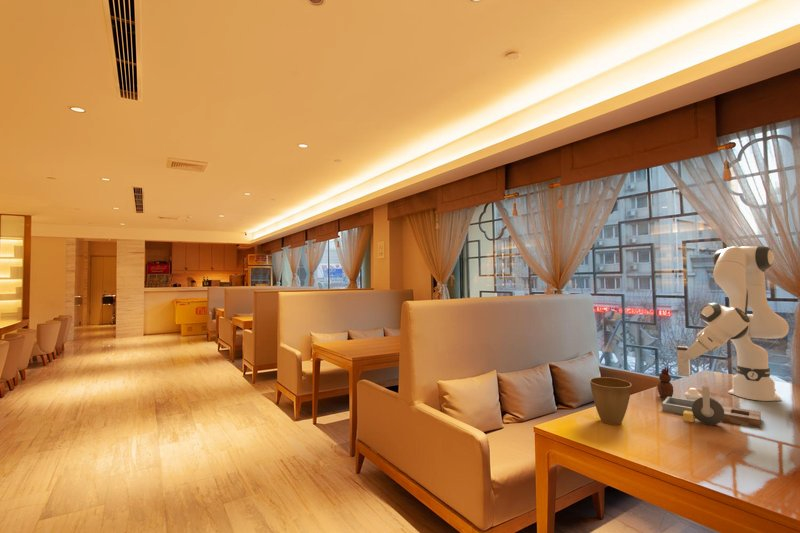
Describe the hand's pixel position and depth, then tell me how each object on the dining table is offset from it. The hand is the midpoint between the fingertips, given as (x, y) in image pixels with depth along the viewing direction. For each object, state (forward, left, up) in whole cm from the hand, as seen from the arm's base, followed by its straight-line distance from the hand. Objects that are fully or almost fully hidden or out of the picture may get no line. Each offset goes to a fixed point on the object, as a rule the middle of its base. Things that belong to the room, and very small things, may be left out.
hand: (681, 360), depth 175 cm
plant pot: (+35, -19, -22) cm, 45 cm away
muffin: (-14, +2, -22) cm, 26 cm away
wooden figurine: (-16, -9, -22) cm, 29 cm away
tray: (0, 0, -21) cm, 21 cm away
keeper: (0, +19, -21) cm, 29 cm away
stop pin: (0, +1, -6) cm, 6 cm away
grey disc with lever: (+14, +8, -21) cm, 27 cm away
